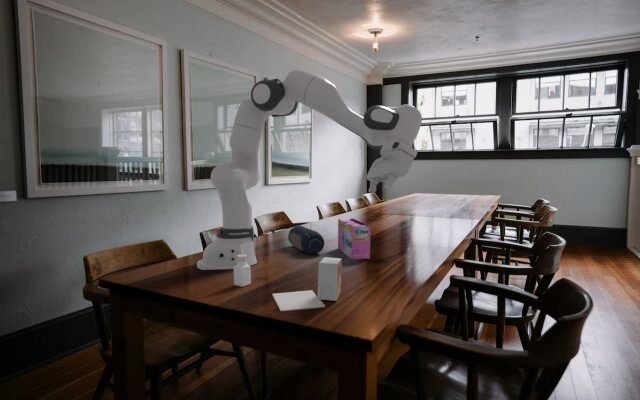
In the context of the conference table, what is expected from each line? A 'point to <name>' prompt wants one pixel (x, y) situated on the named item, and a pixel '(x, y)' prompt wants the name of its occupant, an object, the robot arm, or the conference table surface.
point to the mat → (297, 300)
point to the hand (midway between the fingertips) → (378, 191)
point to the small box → (329, 278)
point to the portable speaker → (306, 239)
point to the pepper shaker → (242, 271)
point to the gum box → (354, 238)
